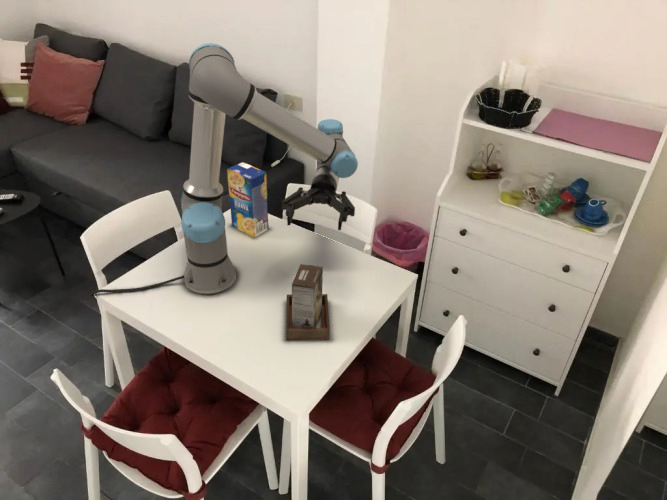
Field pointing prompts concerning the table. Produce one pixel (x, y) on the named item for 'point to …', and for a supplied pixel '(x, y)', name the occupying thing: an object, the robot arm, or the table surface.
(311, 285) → the coffee box
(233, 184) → the beverage box
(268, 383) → the table surface
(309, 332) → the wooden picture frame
